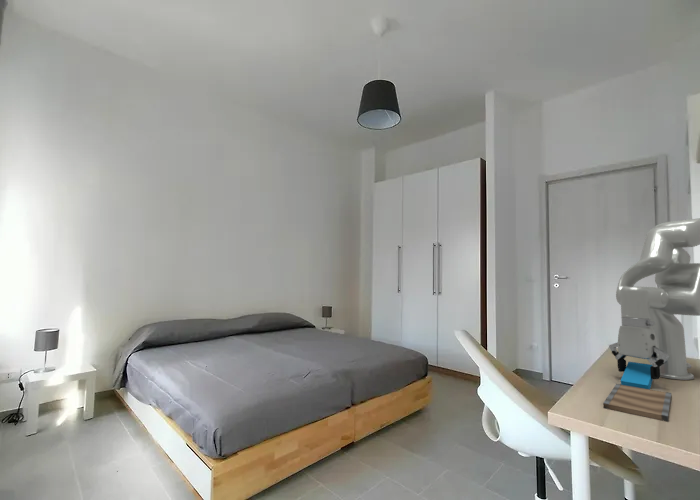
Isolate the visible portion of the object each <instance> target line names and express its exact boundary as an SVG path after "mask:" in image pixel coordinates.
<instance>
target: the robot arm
mask: <svg viewBox="0 0 700 500" xmlns="http://www.w3.org/2000/svg"><path fill="white" fill-rule="evenodd" d="M699 245H700V218H689V219H684V220H683V219H681V220H674V221H673V220H672V221H666V222H662V223H659V224H656V225H654V227H653V228H651V229H649V230H648V231H647V232H646V235H645V238H644V242H643V245H642V246H643V247H642V251H641V254H640V259H639V261H637V262H635V263H634V264H633V265H631V266H630V267H629V268H628V269H627V270H626V271H625V272H623V274H622V275H621V276H620V278H619V280H618V283H617V287H616V292H615V293H616V294H615V297H616V301H617V303H618V304H619V305H620V312H621V314H620V315H621V317H620V318H621V325H620V326H619V329H618V337H617V342H615V343H612V344H609V345H608V348H609V350H610V351H611V354H612V355H613V356H614V357H615V359H616V360H617V369H618V372H620V373H621V372H623V373H624V371H625V369H626V366H627V360H626V359H625V358H626V357H631V358H637V359H642V360H647V361H648V363H650V365H652V366H651V367H650V372H651V379H653V380H659V379H660V378H666V379H671V380H681V381H683V380H684V381H686V380H687V381H688V380H694V379H695V377H694V374H693V373H691V372H688V369H691V368H692V364H691V363H689V362H687V351H686V340H685V329H684V326H683V323H682V322H681V321H680V320H679V319H678V318H677V317H676V315H677V316H678V315H679V316H680V315H681V316H692V317H693V316H695V317H696V316H700V262H698V263H697V262H695V263H694V262H693V263H691V262H690V261H691V255H690V254H689V252H688V251H686V249H684V248H694V247H697V246H699ZM653 275H655V276H654V282H655V284H656V285H657V286H658V287H656V286H635V285H636V284H637V283H638V282H639V281H641V280H642V279H645V278H648V277H650V276H653Z"/></svg>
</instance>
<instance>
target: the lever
mask: <svg viewBox="0 0 700 500" xmlns="http://www.w3.org/2000/svg"><path fill="white" fill-rule="evenodd" d="M651 366H652V365H651V363H650V364H649V363H642V362H634V361H628V362H627V363H626V369H625V371H624V372H623V374H622V376H621V379H620V384H621V385H626V386H632V387H637V388H643V389H649V390H651V387H652V384H653V380H654V379H651V372H650V367H651Z"/></svg>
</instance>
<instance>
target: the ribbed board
mask: <svg viewBox="0 0 700 500" xmlns="http://www.w3.org/2000/svg"><path fill="white" fill-rule="evenodd" d="M672 400H673V396H672V392H668V391H661V390H660V391H659V390H654V389H650V390H649V389H643V388H637V387H632V386H626V385H621V383H615V385H614V386H613V388H612V389H611V391H610V392H609V393H608V395H607V397H606V398H605V400H604V401H603V409H607V410H611V411H617V412H621V413H627V414H630V415H635V416H640V417H643V418H644V417H645V418H650V419H654V420H660V421H663V420H664V422H670V421H669V419H670V414H671V404H672Z"/></svg>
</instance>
